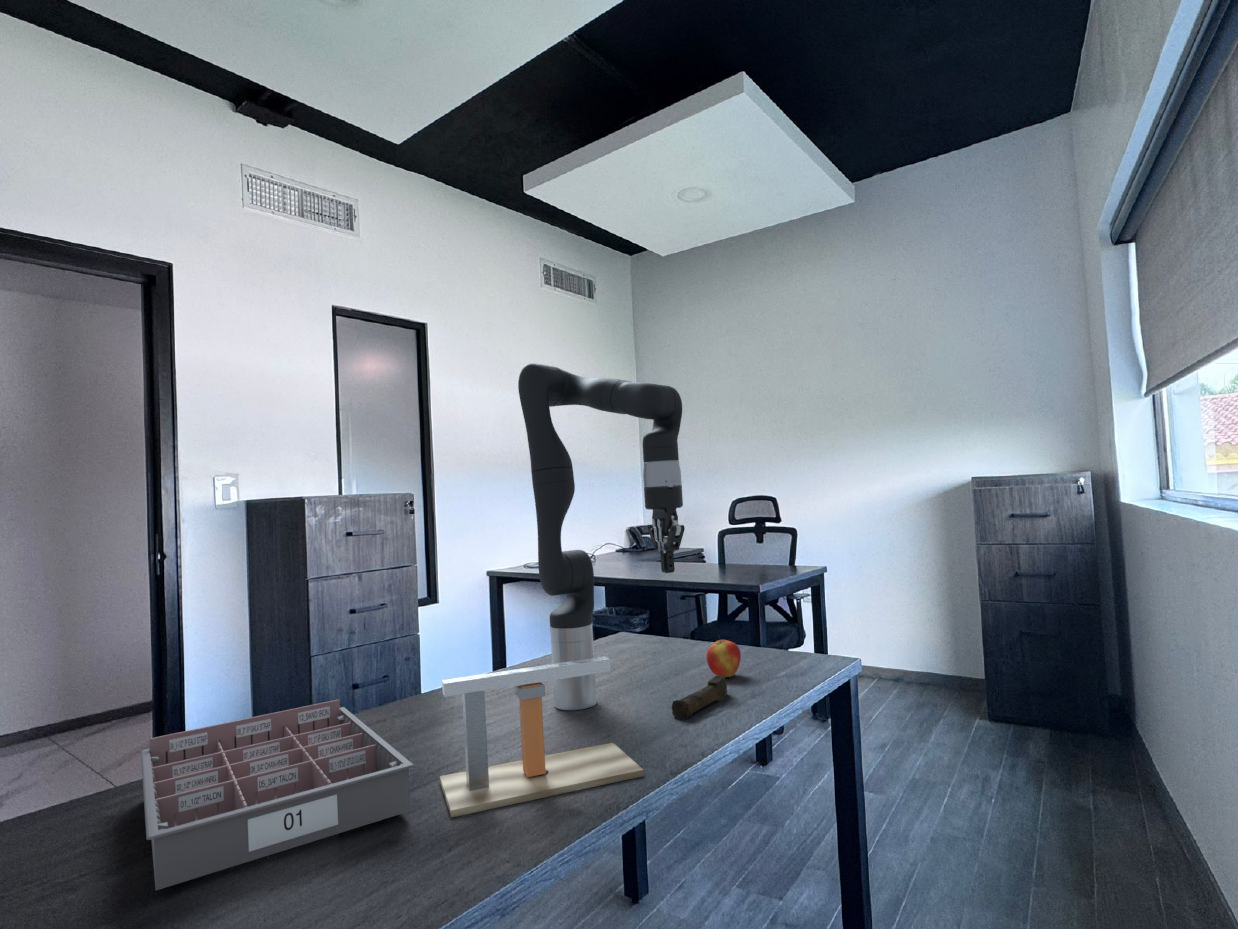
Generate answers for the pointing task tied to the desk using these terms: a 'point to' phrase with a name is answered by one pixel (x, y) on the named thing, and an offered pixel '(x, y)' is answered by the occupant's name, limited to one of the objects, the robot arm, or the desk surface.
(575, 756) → the board
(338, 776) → the organizer tray
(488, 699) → the desk surface
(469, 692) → the bar
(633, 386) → the robot arm
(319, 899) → the desk surface
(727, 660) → the apple
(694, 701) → the hand tool
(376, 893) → the desk surface
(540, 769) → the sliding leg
